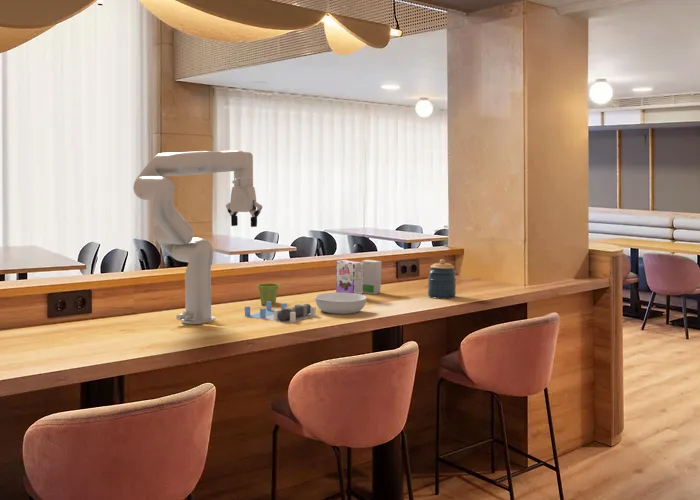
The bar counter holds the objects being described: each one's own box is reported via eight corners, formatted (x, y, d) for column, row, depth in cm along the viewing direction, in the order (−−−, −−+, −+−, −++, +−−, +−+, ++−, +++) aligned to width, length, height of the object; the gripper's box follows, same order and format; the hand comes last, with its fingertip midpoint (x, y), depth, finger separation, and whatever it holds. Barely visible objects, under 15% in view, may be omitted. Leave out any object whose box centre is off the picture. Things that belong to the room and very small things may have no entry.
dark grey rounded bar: (286, 321, 257) (286, 310, 257) (277, 320, 259) (277, 309, 259) (312, 314, 272) (312, 304, 271) (303, 313, 274) (303, 303, 273)
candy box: (335, 295, 325) (335, 260, 324) (345, 294, 329) (345, 259, 327) (353, 299, 314) (353, 263, 313) (363, 298, 318) (363, 262, 316)
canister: (451, 294, 331) (452, 257, 329) (459, 298, 318) (459, 260, 317) (424, 294, 330) (425, 257, 328) (431, 299, 317) (432, 260, 315)
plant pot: (260, 307, 292) (260, 287, 291) (254, 303, 301) (254, 283, 300) (281, 306, 296) (281, 285, 295) (275, 302, 304) (275, 282, 304)
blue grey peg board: (290, 325, 256) (290, 313, 255) (242, 318, 267) (242, 307, 267) (317, 317, 271) (317, 306, 271) (270, 311, 283) (270, 300, 282)
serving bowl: (320, 319, 268) (320, 301, 268) (310, 309, 289) (310, 293, 288) (372, 317, 273) (372, 300, 272) (359, 307, 293) (359, 291, 293)
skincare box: (359, 293, 332) (360, 260, 331) (366, 291, 338) (366, 259, 336) (375, 294, 328) (375, 261, 327) (381, 292, 334) (382, 260, 332)
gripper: (220, 183, 276) (221, 226, 278) (255, 183, 268) (255, 227, 270) (232, 183, 283) (232, 224, 285) (266, 183, 275) (267, 226, 276)
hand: (244, 226), depth 277 cm, fingers open, 9 cm apart
